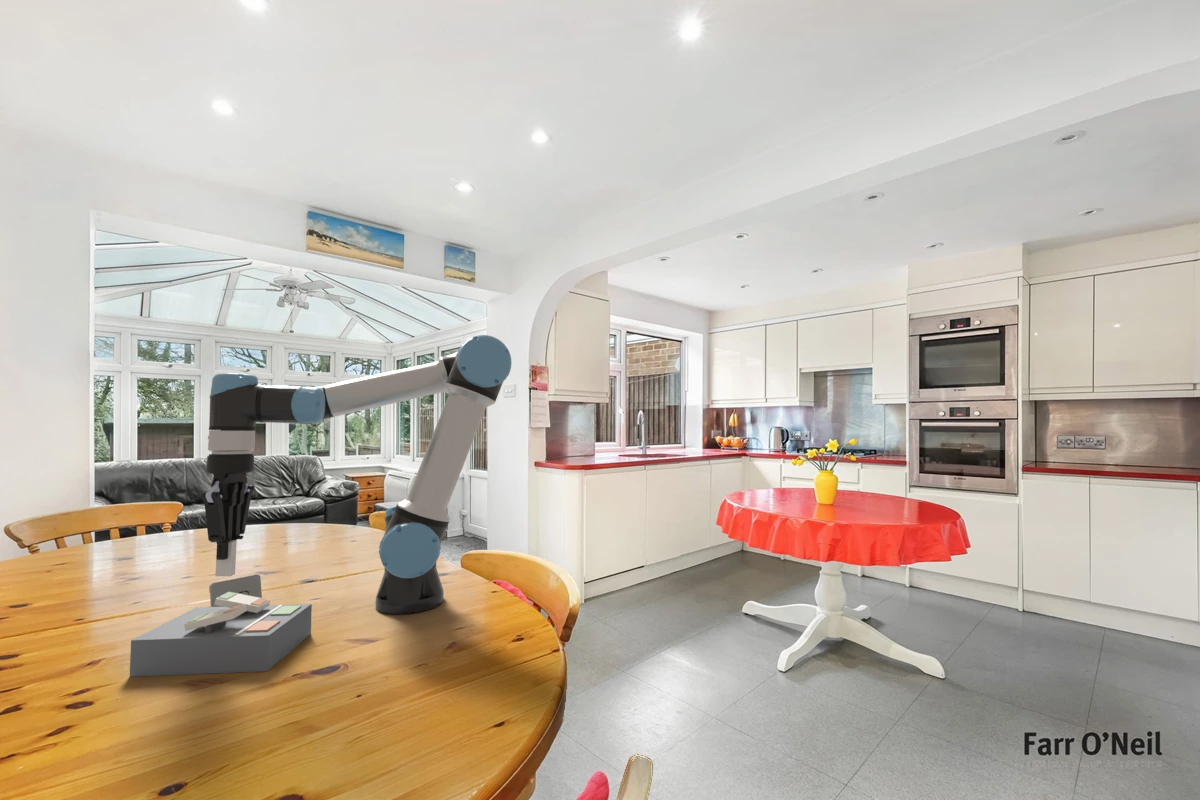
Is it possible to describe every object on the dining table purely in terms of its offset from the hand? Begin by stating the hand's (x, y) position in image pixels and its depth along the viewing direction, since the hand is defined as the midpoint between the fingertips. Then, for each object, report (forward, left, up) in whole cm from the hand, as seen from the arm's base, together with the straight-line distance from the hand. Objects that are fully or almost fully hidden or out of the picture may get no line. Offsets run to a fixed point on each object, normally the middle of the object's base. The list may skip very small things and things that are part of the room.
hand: (225, 575), depth 100 cm
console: (-3, +4, -13) cm, 14 cm away
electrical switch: (+6, -13, -14) cm, 20 cm away
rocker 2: (-3, 0, -5) cm, 6 cm away
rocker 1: (-3, +8, -5) cm, 10 cm away
